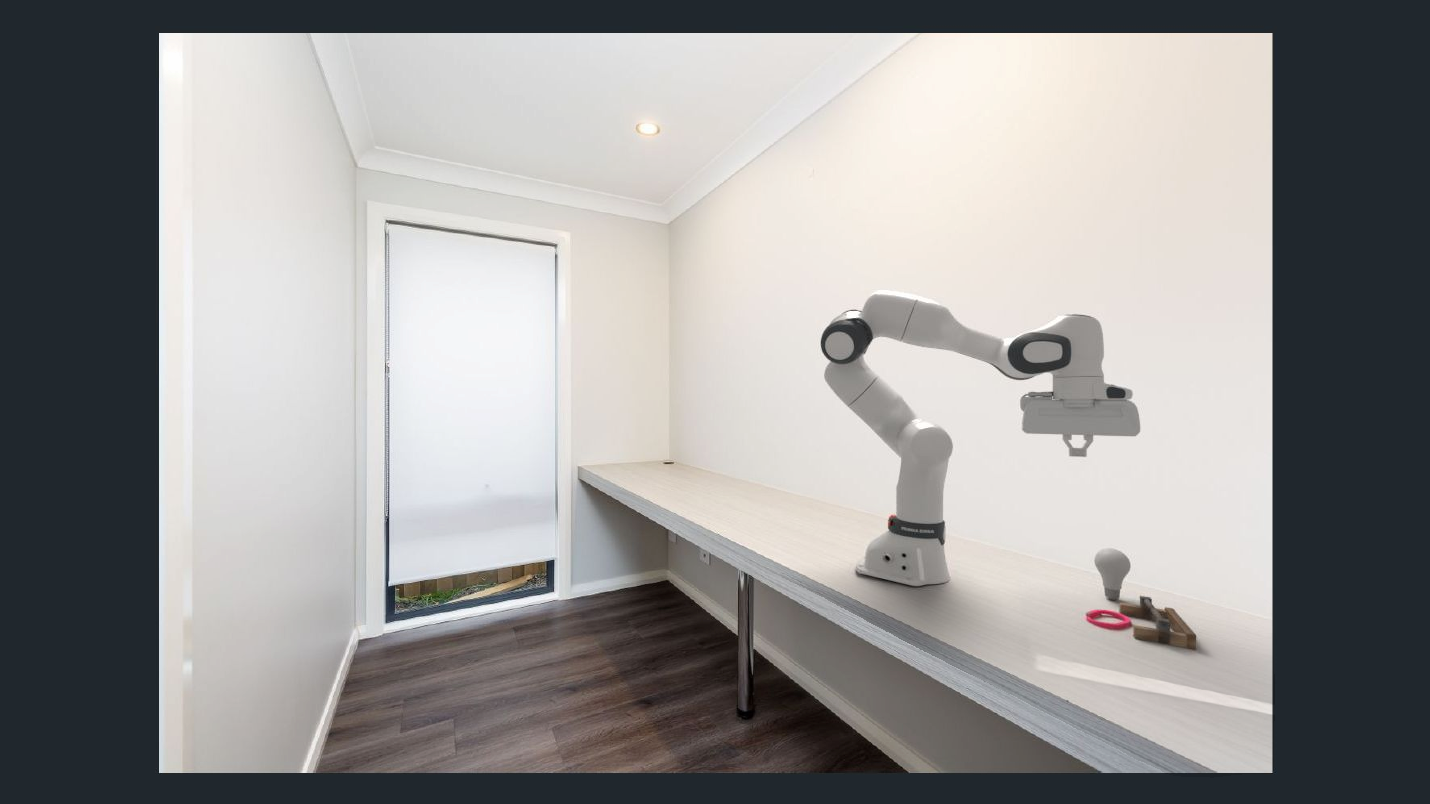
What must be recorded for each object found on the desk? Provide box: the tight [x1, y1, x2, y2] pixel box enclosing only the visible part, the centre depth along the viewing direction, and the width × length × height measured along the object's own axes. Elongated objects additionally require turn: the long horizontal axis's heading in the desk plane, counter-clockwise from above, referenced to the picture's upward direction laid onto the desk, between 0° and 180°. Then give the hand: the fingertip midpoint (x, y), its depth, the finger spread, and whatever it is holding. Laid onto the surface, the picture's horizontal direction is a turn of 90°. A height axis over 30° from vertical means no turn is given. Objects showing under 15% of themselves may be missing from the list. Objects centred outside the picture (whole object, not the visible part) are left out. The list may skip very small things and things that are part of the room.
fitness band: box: [1085, 609, 1132, 631], centre depth 97 cm, size 8×6×2 cm
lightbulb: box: [1093, 547, 1131, 601], centre depth 108 cm, size 6×6×11 cm
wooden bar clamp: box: [1118, 595, 1197, 651], centre depth 93 cm, size 8×13×4 cm, turn 151°
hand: (1077, 456), depth 106 cm, fingers closed
